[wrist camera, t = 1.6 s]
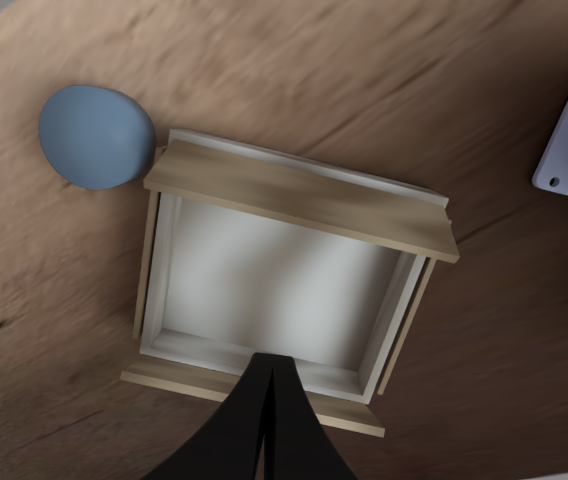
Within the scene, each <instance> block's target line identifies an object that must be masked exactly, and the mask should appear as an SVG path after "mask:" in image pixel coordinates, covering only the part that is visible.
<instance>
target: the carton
mask: <svg viewBox="0 0 568 480" xmlns="http://www.w3.org/2000/svg"><path fill="white" fill-rule="evenodd" d="M174 139H178V140H182V141H186V142H190V143H194V144H198V145H202V146H206V147H210V148H214V149H218V150H222V151H226V152H230V153H234V154H238V155H242V156H246V157H250V158H254V159H258V160H262V161H266V162H270V163H274V164H278V165H282V166H286V167H290V168H294V169H298V170H302V171H306V172H310V173H314V174H318V175H322V176H326V177H330V178H334V179H338V180H342V181H346V182H350V183H354V184H358V185H362V186H366V187H370V188H374V189H378V190H382V191H386V192H390V193H394V194H398V195H402V196H406V197H410V198H414V199H418V200H422V201H426V202H430V203H434V204H438V205H442V206H444V209H445V208H446V205H447V203H448V200H449V198H447V197H445V196H443V195H441V194H439V193H437V192H435V191H433V190H431V189H427V188H423V187H419V186H415V185H411V184H407V183H403V182H399V181H395V180H391V179H387V178H383V177H379V176H375V175H371V174H367V173H363V172H359V171H355V170H351V169H347V168H343V167H339V166H335V165H331V164H327V163H323V162H319V161H315V160H311V159H307V158H303V157H299V156H295V155H291V154H287V153H283V152H279V151H275V150H271V149H267V148H263V147H259V146H255V145H251V144H247V143H243V142H239V141H235V140H231V139H227V138H223V137H219V136H215V135H211V134H207V133H203V132H199V131H195V130H191V129H187V128H178V129H170V132H169V140H168V145H167V146H161V147H156V150H155V158H154V165H155V164H156V162H157V161H158V160H159V158H160V157H161V156H162V154H163V153H164V152H165V150H166V149H167V148H168V147H169V145H170V144H171V143H172V141H173V140H174ZM448 221H449V224H450V225H451V223H452V220H450V219H449V218H448ZM436 260H437V259H434V258H430V257H426V256H422V255H418V254H414V253H410V252H405V251H401V250H397V249H393V248H389V247H385V246H381V245H377V244H372V243H368V242H364V241H360V240H356V239H352V238H348V237H344V236H339V235H335V234H331V233H327V232H323V231H319V230H315V229H311V228H306V227H302V226H298V225H294V224H290V223H286V222H282V221H278V220H273V219H269V218H265V217H261V216H257V215H253V214H249V213H245V212H241V211H236V210H232V209H228V208H224V207H220V206H216V205H212V204H208V203H203V202H199V201H195V200H191V199H187V198H183V197H179V196H175V195H170V194H166V193H162V192H158V191H154V190H150V198H149V206H148V215H147V223H146V231H145V239H144V247H143V255H142V263H141V271H140V279H139V287H138V295H137V303H136V311H135V319H134V327H133V335H132V339H136V340H137V339H138V338H139V337H140V335H141V334H142V340H141V348H140V353H141V354H145V355H150V356H154V357H159V358H163V359H168V360H172V361H177V362H181V363H185V364H190V365H194V366H199V367H203V368H208V369H212V370H217V371H221V372H226V373H230V374H235V375H239V376H242V374H243V373H244V371H245V369H246V368H247V366H248V364H249V362H250V360H251V357H252V355H253V354H254V353H255V352H260V353H268V354H276V355H285V356H292V357H293V358H294V360H295V364H296V368H297V372H298V375H299V377H300V380H301V383H302V386H303V388H304V390H306V391H311V392H315V393H320V394H324V395H329V396H333V397H338V398H342V399H347V400H351V401H356V402H360V403H365V404H369V401H370V399H371V396H372V394H373V391H374V388H376V391H377V394H381V395H382V394H383V391H384V389H385V386H386V384H387V381H388V379H389V376H390V374H391V371H392V369H393V366H394V364H395V361H396V359H397V356H398V354H399V352H400V349H401V347H402V344H403V342H404V339H405V337H406V334H407V332H408V329H409V327H410V324H411V322H412V319H413V317H414V314H415V312H416V309H417V307H418V304H419V302H420V300H421V297H422V295H423V292H424V290H425V287H426V285H427V282H428V280H429V277H430V275H431V272H432V270H433V267H434V265H435V262H436Z"/></svg>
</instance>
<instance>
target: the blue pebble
mask: <svg viewBox="0 0 568 480" xmlns="http://www.w3.org/2000/svg"><path fill="white" fill-rule="evenodd" d="M39 138H40V143H41V146H42V149H43V151H44V154H45V156H46V158H47V159H48V161H49V162H50V164H51V165H52V167H53V168H54V169H55V170H56V171H57V172H58V173H59V174H60V175H61V176H62V177H63V178H65V179H66V180H68V181H69V182H71V183H73V184H75V185H77V186H79V187H82V188H86V189H91V190H104V189H109V188H112V187H115V186H118V185H120V184H123V183H126V182H129V181H131V180H134V179H136V178H138V177H139V176H141V175H142V174H143V173H144V172H145V171H146V170H147V169H148V168H149V166H150V165H151V163H152V161H153V158H154V155H155V150H156V135H155V130H154V127H153V124H152V122H151V120H150V118H149V116H148V115H147V113H146V112H145V110H144V109H143V108H142V107H141V106H140V105H139V104H138V103H137V102H136V101H135V100H134V99H132V98H131V97H129V96H127V95H125V94H123V93H121V92H118V91H114V90H109V89H103V88H96V87H90V86H81V85H77V86H70V87H67V88H64V89H62V90H60V91H58V92H57V93H55V94H54V95H53V96H52V97H51V98H50V99H49V100H48V101H47V102H46V104H45V106H44V107H43V110H42V112H41V115H40V120H39Z"/></svg>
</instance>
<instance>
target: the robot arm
mask: <svg viewBox="0 0 568 480" xmlns="http://www.w3.org/2000/svg"><path fill="white" fill-rule="evenodd" d="M552 178H554V179H555V181H554V183H553V184H552V185H550V184H549V183H550V180H551V179H552ZM532 183H533V185H534V186H535V187H537V188H540V189H544V190H548V191H552V192H556V193H559V194H563V195H567V196H568V101H567V104H566V106H565V108H564V110H563V112H562V115H561V117H560V119H559V121H558V123H557V125H556V128H555V130H554V132H553V134H552V136H551V138H550V141H549V143H548V145H547V147H546V149H545V152H544V154H543V156H542V158H541V160H540V162H539V165H538V167H537V169H536V171H535V173H534V176H533V178H532ZM263 437H264V480H359V479H358V478H357V477H356V476H355V474H354V473H353V472H352V471H351V469H350V468H349V467H348V466H347V464H346V463H345V461H344V460H343V459H342V457H341V456H340V454H339V453H338V451H337V450H336V448H335V447H334V445H333V444H332V442H331V441H330V439H329V437H328V436H327V434H326V432H325V431H324V429H323V427H322V425H321V424H320V422H319V420H318V418H317V416H316V414H315V412H314V410H313V408H312V406H311V404H310V402H309V400H308V397H307V395H306V393H305V391H304V388H303V386H302V383H301V380H300V377H299V375H298V372H297V368H296V364H295V360H294V358H293V357H292V356H285V355H276V354H268V353H260V352H255V353H254V354H253V355H252V357H251V360H250V362H249V364H248V366H247V368H246V369H245V371H244V373H243V374H242V376H241V378H240V379H239V381H238V382H237V384H236V385H235V387H234V388H233V389H232V391H231V392H230V394H229V395H228V396H227V397H226V399H225V400H224V401H223V403H222V404H221V405H220V406H219V408H218V409H217V410H216V411H215V412H214V414H213V415H212V416H211V417H210V418H209V419H208V420H207V421H206V423H205V424H204V425H203V426H202V427H201V428H200V429H199V430H198V431H197V432H196V433H195V434H194V435H193V436H192V437H191V438H190V439H188V440H187V441H186V442H185V443H184V444H183V445H182V446H181V447H180V448H179V449H178V450H176V451H175V452H174V453H173V454H172V455H171V456H169V457H168V458H167V459H166V460H164V461H163V462H162V463H160V464H159V465H158V466H157V467H155V468H154V469H153V470H152V471H150V472H149V473H148V474H146V475H145V476H144V477H142V478H141V479H140V480H255V477H256V472H257V467H258V462H259V457H260V452H261V447H262V442H263Z"/></svg>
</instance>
